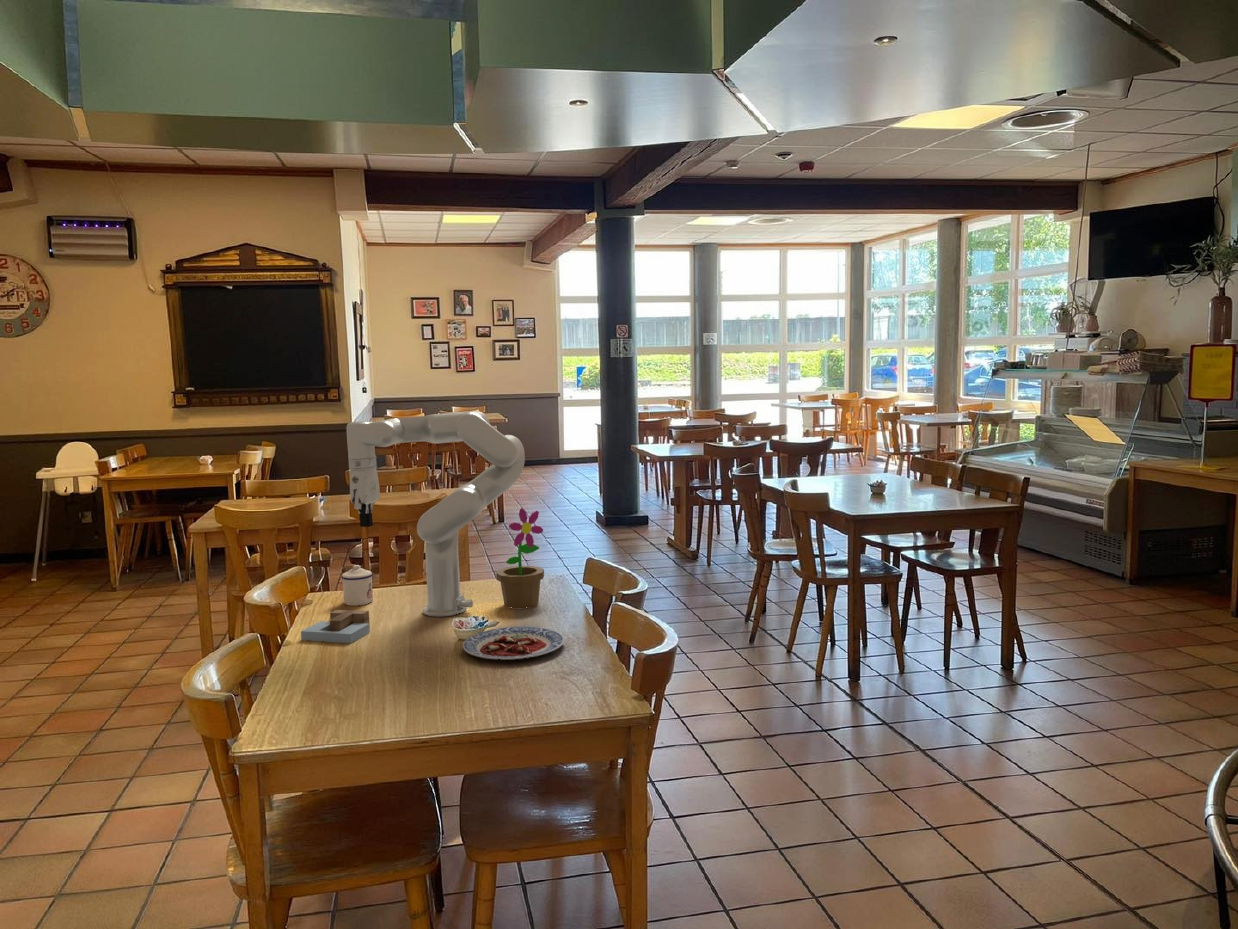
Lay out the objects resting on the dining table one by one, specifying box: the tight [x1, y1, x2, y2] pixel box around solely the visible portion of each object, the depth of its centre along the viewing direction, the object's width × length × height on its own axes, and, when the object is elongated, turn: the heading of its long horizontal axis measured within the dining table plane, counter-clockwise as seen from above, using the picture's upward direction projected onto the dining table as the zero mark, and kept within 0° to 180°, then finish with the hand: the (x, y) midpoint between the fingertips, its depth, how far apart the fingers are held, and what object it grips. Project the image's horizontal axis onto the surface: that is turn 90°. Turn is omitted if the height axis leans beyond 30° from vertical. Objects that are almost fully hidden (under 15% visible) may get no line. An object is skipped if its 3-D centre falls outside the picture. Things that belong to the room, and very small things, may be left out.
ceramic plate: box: [462, 626, 565, 661], centre depth 231 cm, size 26×26×3 cm
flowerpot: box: [495, 507, 545, 609], centre depth 271 cm, size 14×14×30 cm
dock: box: [300, 620, 371, 644], centre depth 245 cm, size 15×10×2 cm, turn 76°
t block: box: [329, 609, 371, 632], centre depth 248 cm, size 10×10×5 cm
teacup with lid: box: [341, 564, 374, 607], centre depth 280 cm, size 12×9×12 cm
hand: (366, 526), depth 264 cm, fingers closed
